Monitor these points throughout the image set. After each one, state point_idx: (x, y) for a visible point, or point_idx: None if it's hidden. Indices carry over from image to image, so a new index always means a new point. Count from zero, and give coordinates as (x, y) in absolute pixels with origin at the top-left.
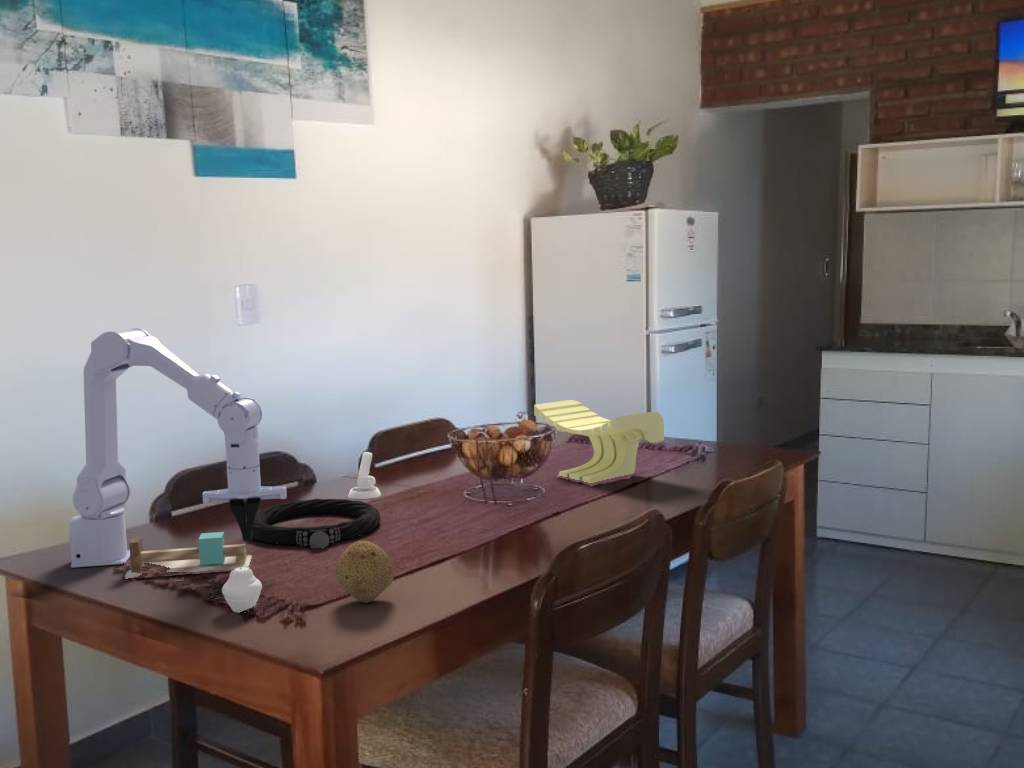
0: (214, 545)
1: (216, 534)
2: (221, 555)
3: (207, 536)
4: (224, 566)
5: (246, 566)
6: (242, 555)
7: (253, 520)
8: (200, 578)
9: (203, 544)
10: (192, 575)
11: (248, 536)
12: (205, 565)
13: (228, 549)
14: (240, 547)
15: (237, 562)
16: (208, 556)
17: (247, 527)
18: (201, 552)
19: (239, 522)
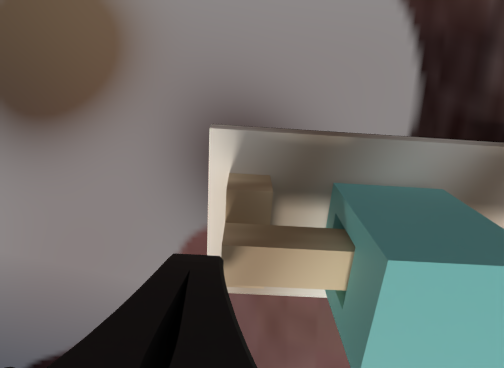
0: (416, 232)
1: (414, 343)
2: (351, 199)
3: (485, 314)
4: (325, 162)
5: (218, 127)
6: (236, 190)
7: (52, 365)
8: (439, 72)
9: (496, 241)
10: (466, 134)
11: (178, 265)
12: None
13: (315, 242)
14: (246, 241)
15: (264, 179)
16: (422, 203)
17: (160, 311)
18: (475, 216)
19: (233, 360)
